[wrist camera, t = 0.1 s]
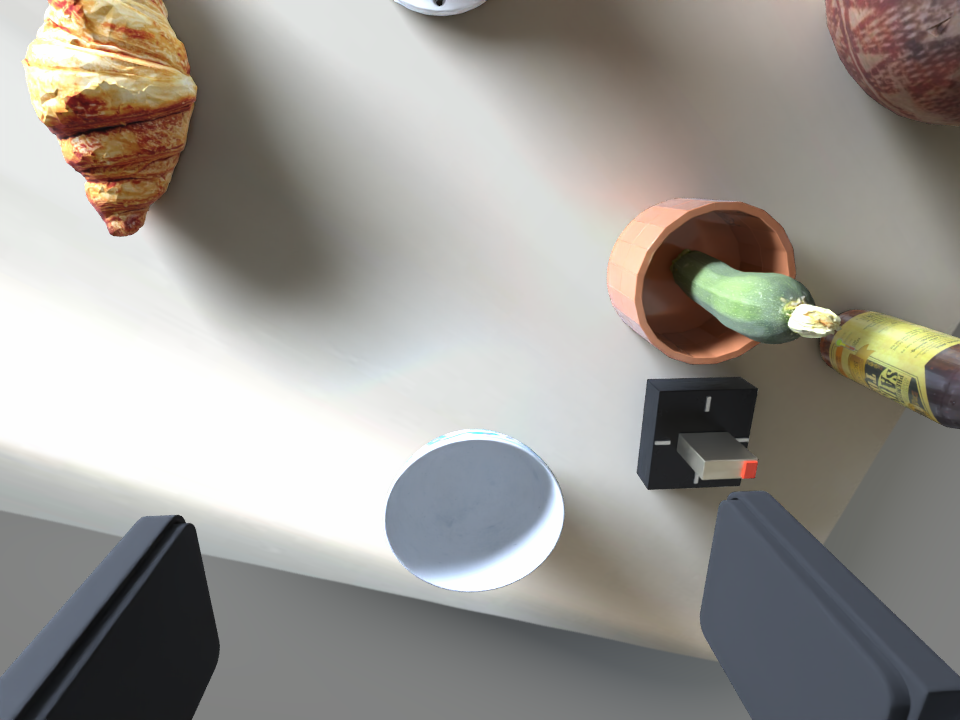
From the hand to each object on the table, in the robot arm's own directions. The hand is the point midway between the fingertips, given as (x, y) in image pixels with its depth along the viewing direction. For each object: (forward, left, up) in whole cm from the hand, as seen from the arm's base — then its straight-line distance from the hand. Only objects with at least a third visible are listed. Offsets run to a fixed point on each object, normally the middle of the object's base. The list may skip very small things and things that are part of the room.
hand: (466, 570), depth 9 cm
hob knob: (+16, +23, -34) cm, 44 cm away
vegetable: (+1, +20, -37) cm, 42 cm away
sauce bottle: (+8, +37, -37) cm, 53 cm away
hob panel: (+16, +23, -37) cm, 46 cm away
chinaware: (+20, +2, -37) cm, 42 cm away
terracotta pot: (+1, +20, -37) cm, 42 cm away
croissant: (-13, -22, -37) cm, 45 cm away
